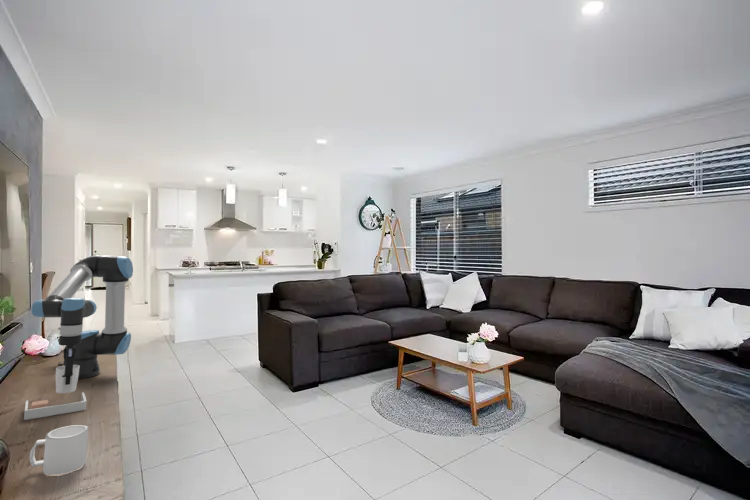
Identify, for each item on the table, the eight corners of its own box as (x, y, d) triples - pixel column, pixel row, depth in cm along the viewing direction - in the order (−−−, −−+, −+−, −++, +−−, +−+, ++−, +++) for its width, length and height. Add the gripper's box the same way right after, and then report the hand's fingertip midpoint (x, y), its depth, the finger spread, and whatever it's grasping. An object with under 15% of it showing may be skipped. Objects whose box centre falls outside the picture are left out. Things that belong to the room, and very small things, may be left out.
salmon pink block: (31, 411, 157) (32, 401, 157) (47, 409, 160) (48, 399, 160) (30, 415, 153) (31, 405, 153) (47, 413, 156) (47, 403, 156)
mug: (22, 482, 109) (25, 443, 109) (33, 465, 118) (36, 429, 118) (82, 472, 115) (85, 435, 116) (88, 456, 124) (91, 423, 125)
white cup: (64, 394, 158) (66, 370, 159) (48, 392, 160) (50, 368, 161) (82, 389, 166) (84, 365, 167) (67, 387, 168) (69, 363, 168)
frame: (25, 409, 159) (25, 400, 159) (83, 400, 171) (84, 392, 172) (23, 420, 149) (24, 410, 149) (85, 409, 161) (86, 401, 161)
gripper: (58, 331, 170) (54, 384, 169) (60, 339, 154) (55, 397, 153) (80, 330, 174) (75, 381, 173) (83, 338, 159) (79, 394, 158)
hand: (66, 389), depth 163 cm, fingers closed on white cup, 7 cm apart
